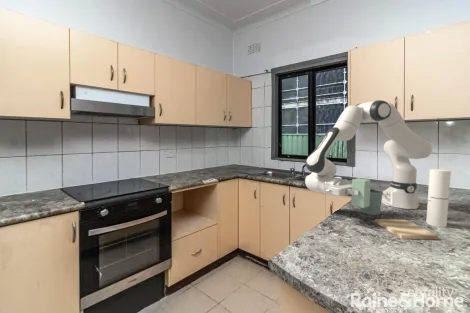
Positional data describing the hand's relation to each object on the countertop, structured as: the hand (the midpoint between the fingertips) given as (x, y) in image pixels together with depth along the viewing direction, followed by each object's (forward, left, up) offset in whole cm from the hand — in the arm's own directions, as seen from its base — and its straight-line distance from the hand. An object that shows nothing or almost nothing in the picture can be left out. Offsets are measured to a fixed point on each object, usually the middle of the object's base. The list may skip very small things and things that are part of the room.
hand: (362, 191), depth 107 cm
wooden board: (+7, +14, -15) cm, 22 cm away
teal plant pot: (-17, +13, -15) cm, 26 cm away
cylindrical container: (-1, +34, -15) cm, 37 cm away
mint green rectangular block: (-1, 0, -7) cm, 7 cm away
